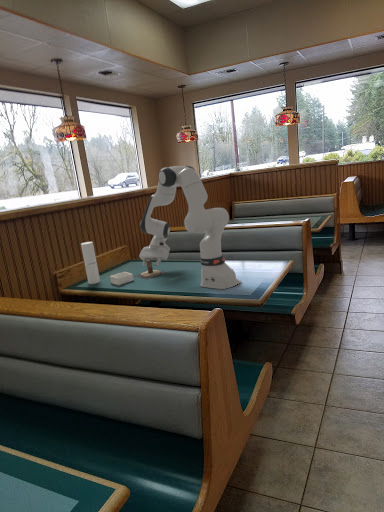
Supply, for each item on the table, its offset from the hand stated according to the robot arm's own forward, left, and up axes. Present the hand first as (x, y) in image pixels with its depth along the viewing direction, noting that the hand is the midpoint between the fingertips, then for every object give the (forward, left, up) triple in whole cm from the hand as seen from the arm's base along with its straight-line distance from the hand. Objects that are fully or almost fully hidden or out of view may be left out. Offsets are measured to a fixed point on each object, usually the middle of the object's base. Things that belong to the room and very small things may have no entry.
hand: (149, 265), depth 235 cm
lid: (0, 0, -6) cm, 6 cm away
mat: (0, 0, -6) cm, 6 cm away
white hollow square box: (+4, +18, -6) cm, 20 cm away
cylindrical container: (+22, +28, -6) cm, 36 cm away
